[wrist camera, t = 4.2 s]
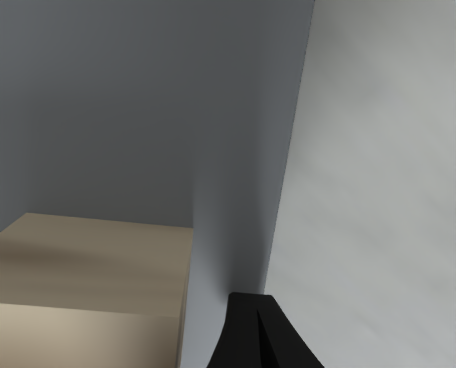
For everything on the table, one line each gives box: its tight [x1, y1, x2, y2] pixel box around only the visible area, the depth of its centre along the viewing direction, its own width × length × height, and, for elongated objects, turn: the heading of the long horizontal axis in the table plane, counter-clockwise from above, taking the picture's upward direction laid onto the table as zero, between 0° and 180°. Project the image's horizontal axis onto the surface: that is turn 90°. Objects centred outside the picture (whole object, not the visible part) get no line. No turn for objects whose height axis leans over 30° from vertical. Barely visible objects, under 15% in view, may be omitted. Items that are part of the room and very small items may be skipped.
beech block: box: [0, 213, 193, 368], centre depth 9 cm, size 5×5×4 cm
